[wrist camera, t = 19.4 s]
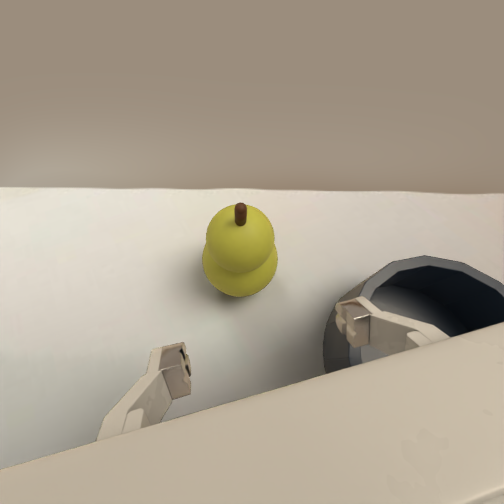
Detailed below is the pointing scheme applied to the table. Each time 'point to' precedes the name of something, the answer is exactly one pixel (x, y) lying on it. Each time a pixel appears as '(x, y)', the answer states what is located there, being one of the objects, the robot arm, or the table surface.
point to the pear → (239, 251)
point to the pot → (420, 303)
